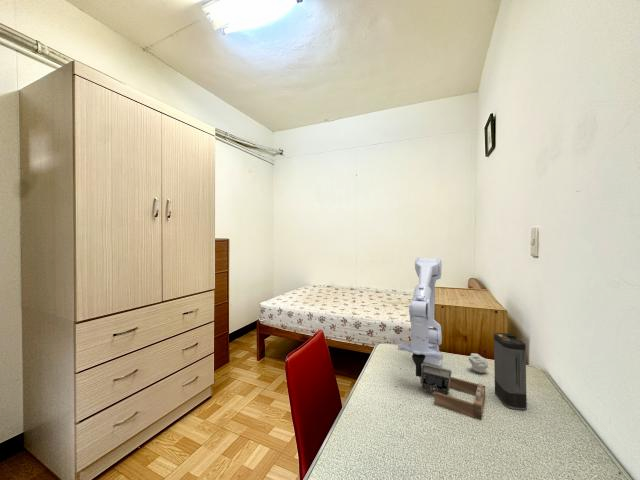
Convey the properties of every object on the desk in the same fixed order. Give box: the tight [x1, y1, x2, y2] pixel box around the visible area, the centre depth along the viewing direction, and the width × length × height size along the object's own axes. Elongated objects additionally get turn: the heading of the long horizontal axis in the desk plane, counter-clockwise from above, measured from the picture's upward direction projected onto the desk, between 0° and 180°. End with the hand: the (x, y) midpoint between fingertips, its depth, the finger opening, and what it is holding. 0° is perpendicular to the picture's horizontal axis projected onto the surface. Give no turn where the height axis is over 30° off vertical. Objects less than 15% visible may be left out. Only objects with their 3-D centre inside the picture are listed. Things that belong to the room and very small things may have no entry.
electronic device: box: [493, 332, 528, 411], centre depth 83 cm, size 9×6×20 cm, turn 168°
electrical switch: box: [419, 362, 453, 395], centre depth 87 cm, size 9×5×9 cm, turn 67°
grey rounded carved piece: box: [467, 352, 489, 374], centre depth 101 cm, size 6×7×7 cm
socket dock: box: [433, 376, 486, 421], centre depth 83 cm, size 14×12×6 cm
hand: (419, 375), depth 90 cm, fingers closed, pressing on electrical switch
